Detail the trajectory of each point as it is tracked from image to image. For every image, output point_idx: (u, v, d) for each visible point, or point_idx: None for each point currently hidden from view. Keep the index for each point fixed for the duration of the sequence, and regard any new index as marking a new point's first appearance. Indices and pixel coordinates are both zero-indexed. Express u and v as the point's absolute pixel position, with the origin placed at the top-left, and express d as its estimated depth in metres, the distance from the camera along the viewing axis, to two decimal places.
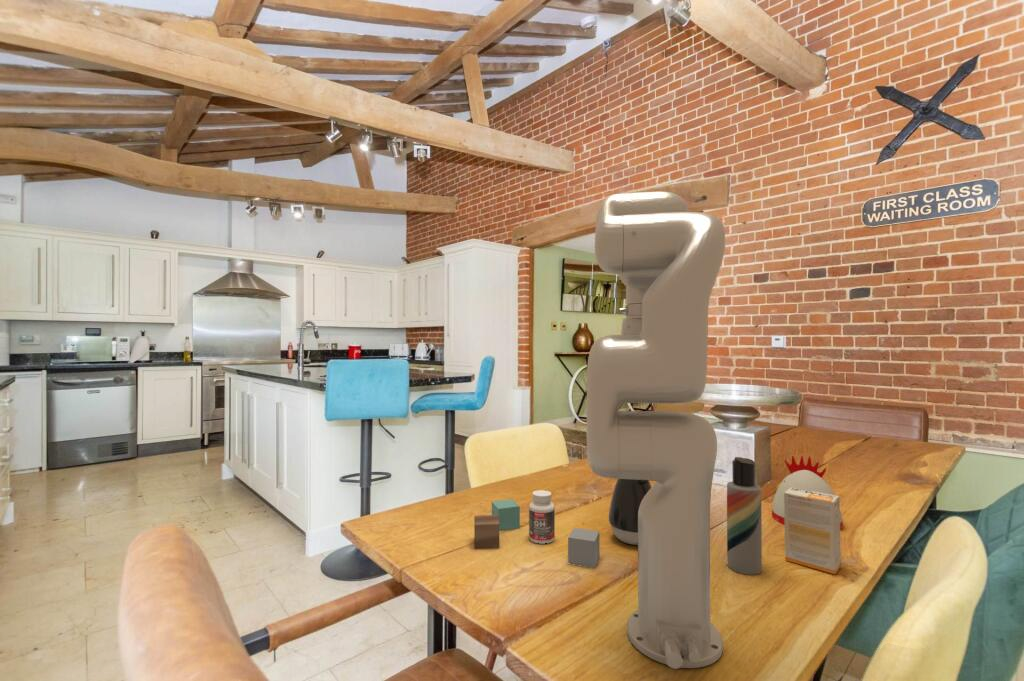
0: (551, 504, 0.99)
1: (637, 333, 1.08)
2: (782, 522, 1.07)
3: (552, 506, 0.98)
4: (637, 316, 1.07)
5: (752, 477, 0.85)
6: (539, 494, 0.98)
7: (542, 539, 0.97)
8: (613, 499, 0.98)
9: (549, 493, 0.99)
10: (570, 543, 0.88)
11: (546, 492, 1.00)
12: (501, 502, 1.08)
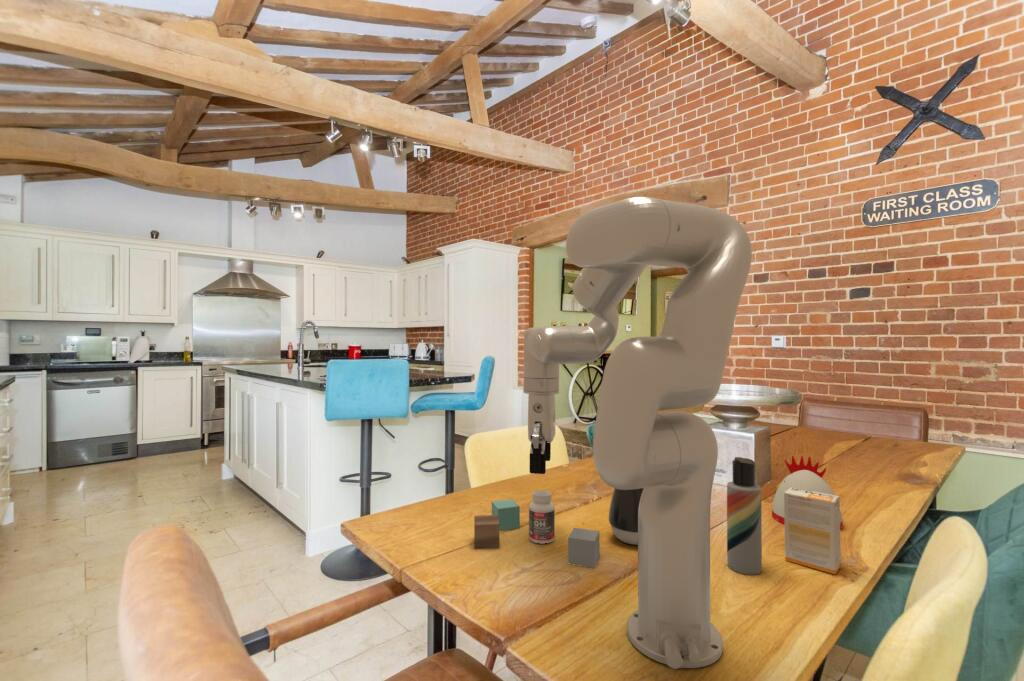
0: (551, 504, 0.99)
1: (553, 410, 0.98)
2: (782, 522, 1.07)
3: (552, 506, 0.98)
4: (556, 392, 0.98)
5: (752, 477, 0.85)
6: (539, 494, 0.98)
7: (542, 539, 0.97)
8: (613, 499, 0.98)
9: (549, 493, 0.99)
10: (570, 543, 0.88)
11: (546, 492, 1.00)
12: (501, 502, 1.08)
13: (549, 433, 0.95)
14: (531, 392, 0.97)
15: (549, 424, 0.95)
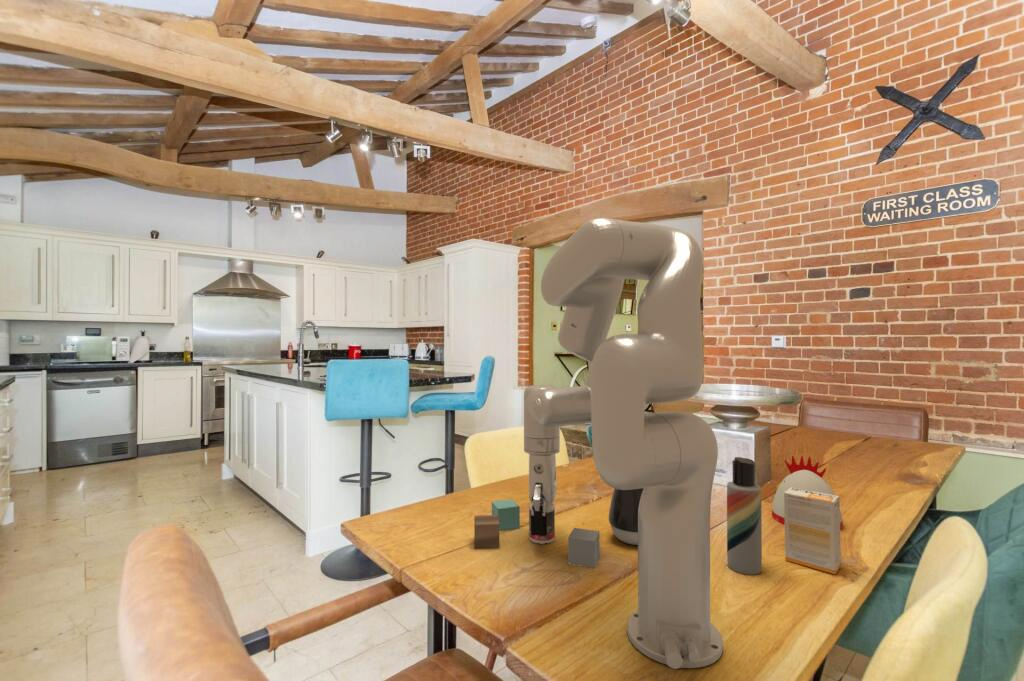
0: (551, 504, 0.99)
1: (554, 470, 0.98)
2: (782, 522, 1.07)
3: (552, 506, 0.98)
4: (557, 451, 0.97)
5: (752, 477, 0.85)
6: None
7: (542, 539, 0.97)
8: (613, 499, 0.98)
9: None
10: (570, 543, 0.88)
11: None
12: (501, 502, 1.08)
13: (550, 494, 0.94)
14: (532, 452, 0.96)
15: (550, 485, 0.94)
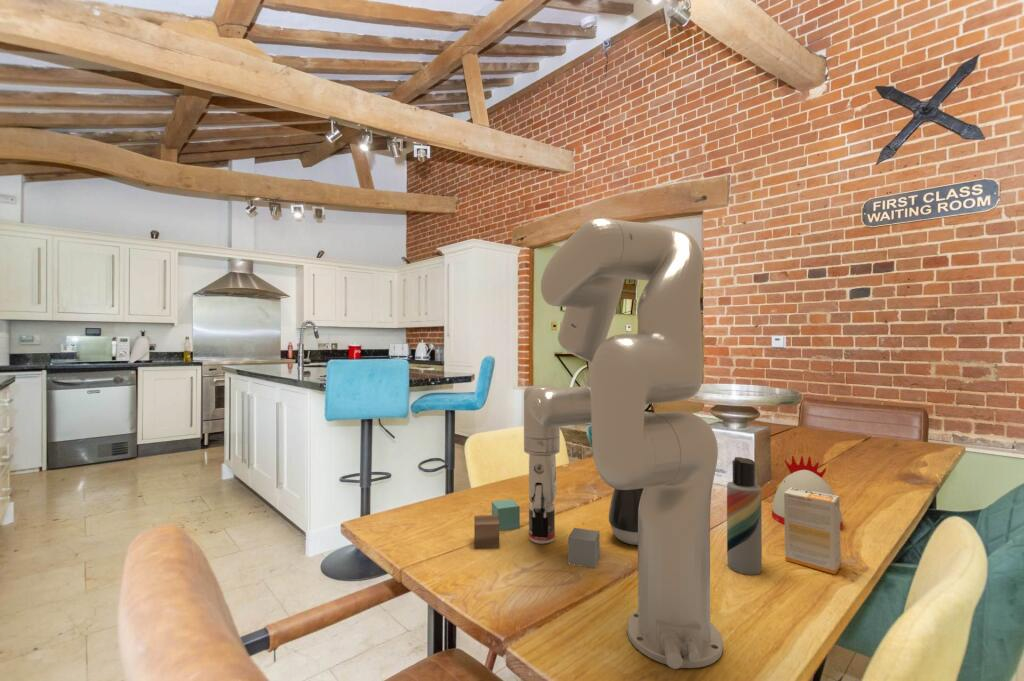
0: (551, 504, 0.99)
1: (554, 470, 0.98)
2: (782, 522, 1.07)
3: (552, 506, 0.98)
4: (557, 451, 0.97)
5: (752, 477, 0.85)
6: None
7: (542, 539, 0.97)
8: (613, 499, 0.98)
9: None
10: (570, 543, 0.88)
11: None
12: (501, 502, 1.08)
13: (550, 494, 0.94)
14: (532, 452, 0.96)
15: (550, 485, 0.94)
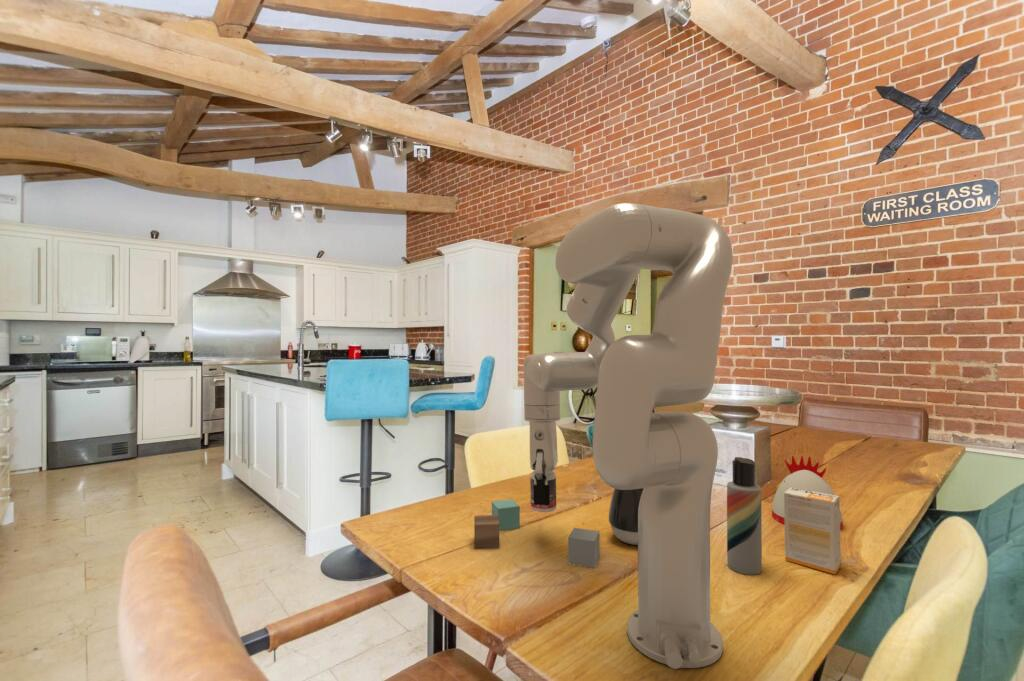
0: (552, 473, 0.98)
1: (555, 437, 0.97)
2: (782, 522, 1.07)
3: (553, 474, 0.98)
4: (558, 419, 0.97)
5: (752, 477, 0.85)
6: None
7: (544, 507, 0.96)
8: (613, 499, 0.98)
9: None
10: (570, 543, 0.88)
11: None
12: (501, 502, 1.08)
13: (551, 461, 0.94)
14: (532, 419, 0.96)
15: (551, 452, 0.94)
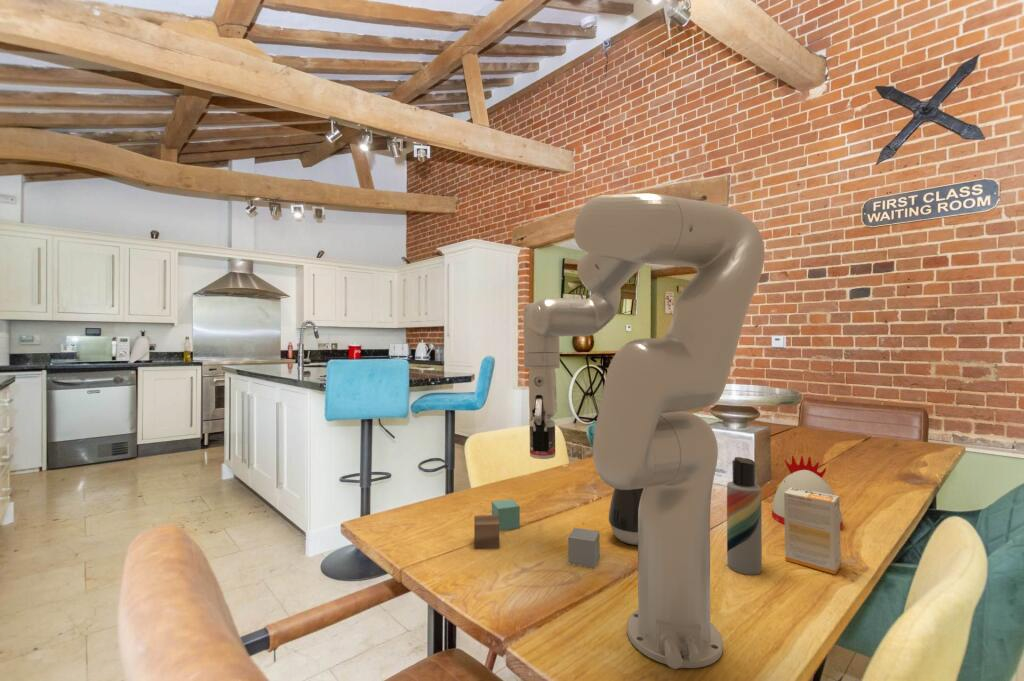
0: (551, 421, 0.99)
1: (554, 385, 0.97)
2: (782, 522, 1.07)
3: (552, 422, 0.98)
4: (557, 366, 0.97)
5: (752, 477, 0.85)
6: None
7: (543, 454, 0.96)
8: (613, 499, 0.98)
9: None
10: (570, 543, 0.88)
11: None
12: (501, 502, 1.08)
13: (551, 407, 0.94)
14: (532, 367, 0.96)
15: (550, 397, 0.94)
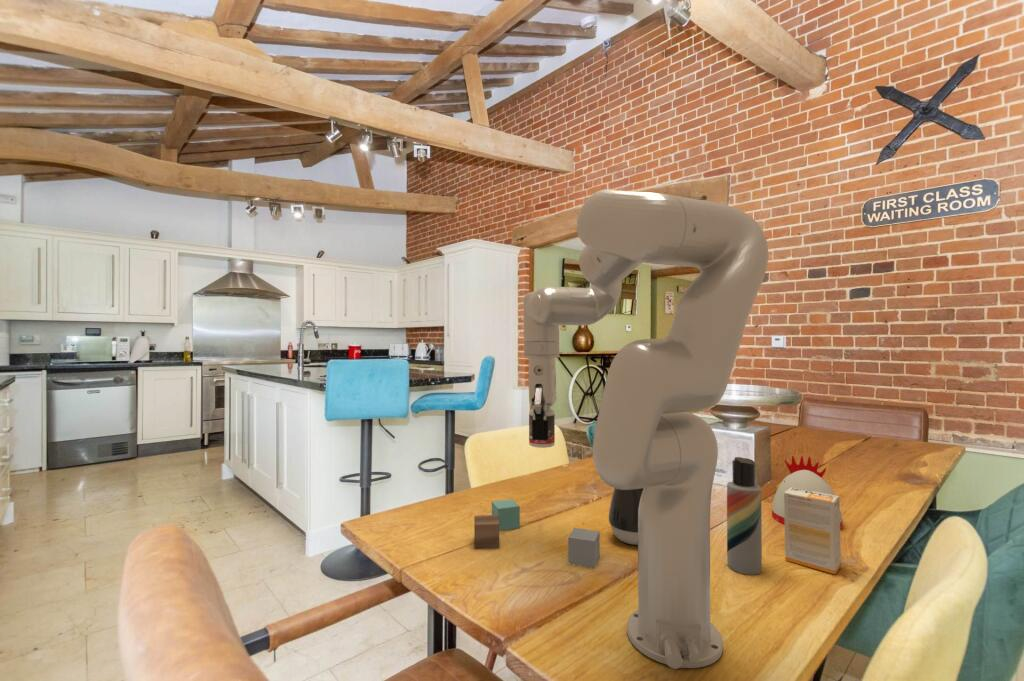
0: (551, 409, 0.99)
1: (554, 374, 0.98)
2: (782, 522, 1.07)
3: (552, 411, 0.98)
4: (557, 355, 0.97)
5: (752, 477, 0.85)
6: None
7: (543, 443, 0.97)
8: (613, 499, 0.98)
9: None
10: (570, 543, 0.88)
11: None
12: (501, 502, 1.08)
13: (550, 395, 0.94)
14: (531, 355, 0.96)
15: (550, 386, 0.94)
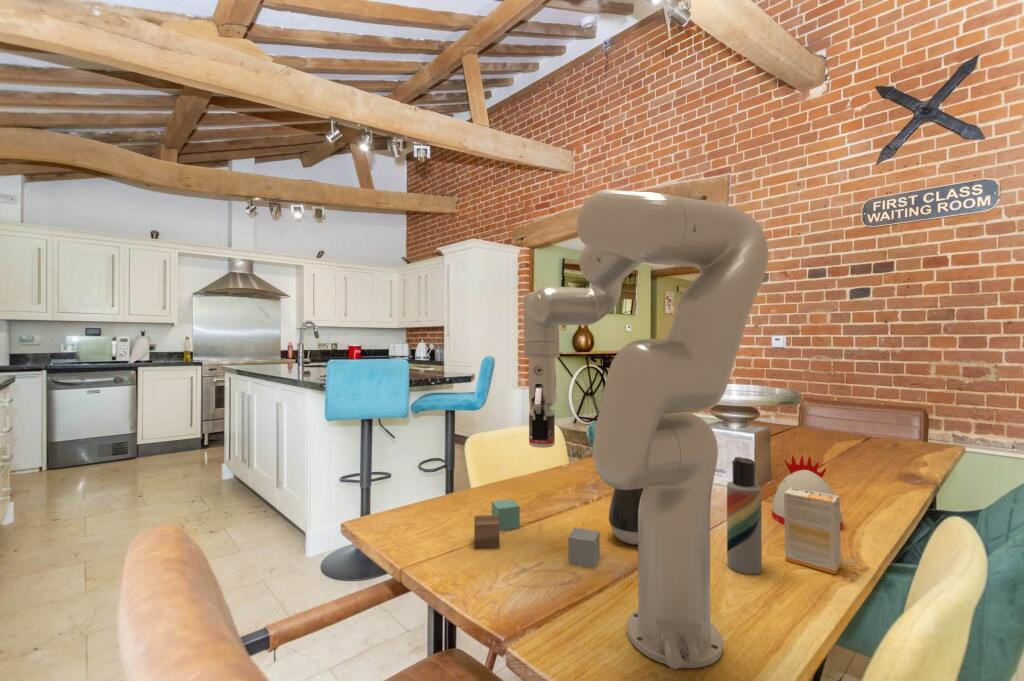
0: (551, 409, 0.99)
1: (554, 374, 0.98)
2: (782, 522, 1.07)
3: (552, 411, 0.98)
4: (557, 355, 0.97)
5: (752, 477, 0.85)
6: None
7: (543, 443, 0.97)
8: (613, 499, 0.98)
9: None
10: (570, 543, 0.88)
11: None
12: (501, 502, 1.08)
13: (550, 395, 0.94)
14: (531, 355, 0.96)
15: (550, 386, 0.94)
